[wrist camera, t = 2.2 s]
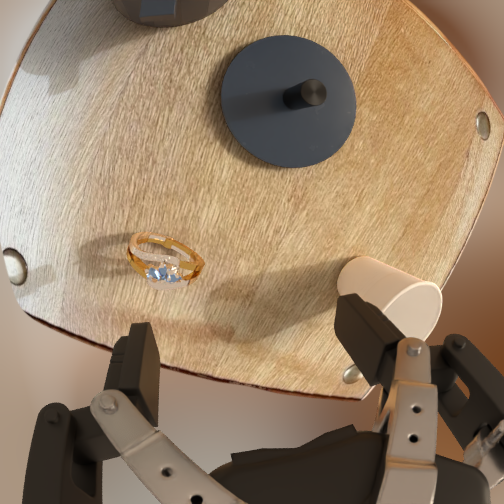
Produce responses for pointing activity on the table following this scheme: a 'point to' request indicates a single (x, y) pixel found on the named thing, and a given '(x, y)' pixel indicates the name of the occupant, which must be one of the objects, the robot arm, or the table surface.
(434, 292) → the cup
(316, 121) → the lid
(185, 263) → the ring
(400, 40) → the table surface
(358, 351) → the robot arm
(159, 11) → the pot
